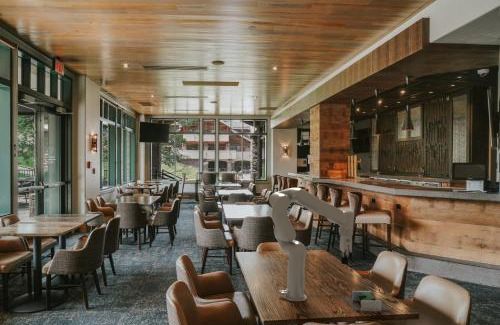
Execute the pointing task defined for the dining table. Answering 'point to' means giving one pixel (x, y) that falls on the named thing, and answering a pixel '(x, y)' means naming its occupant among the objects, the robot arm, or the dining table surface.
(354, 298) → the block
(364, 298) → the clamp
